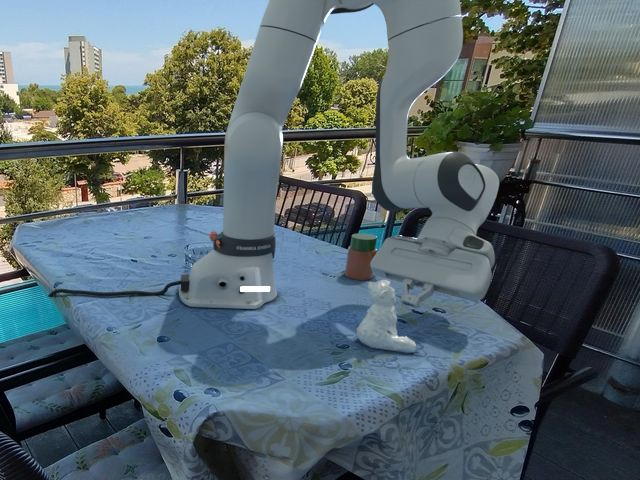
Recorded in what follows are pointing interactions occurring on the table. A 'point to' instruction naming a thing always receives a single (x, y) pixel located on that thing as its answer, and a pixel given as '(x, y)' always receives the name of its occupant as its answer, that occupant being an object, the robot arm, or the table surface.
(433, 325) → the table surface
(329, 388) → the table surface
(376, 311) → the white creature statuette
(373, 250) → the brown jar green lid
